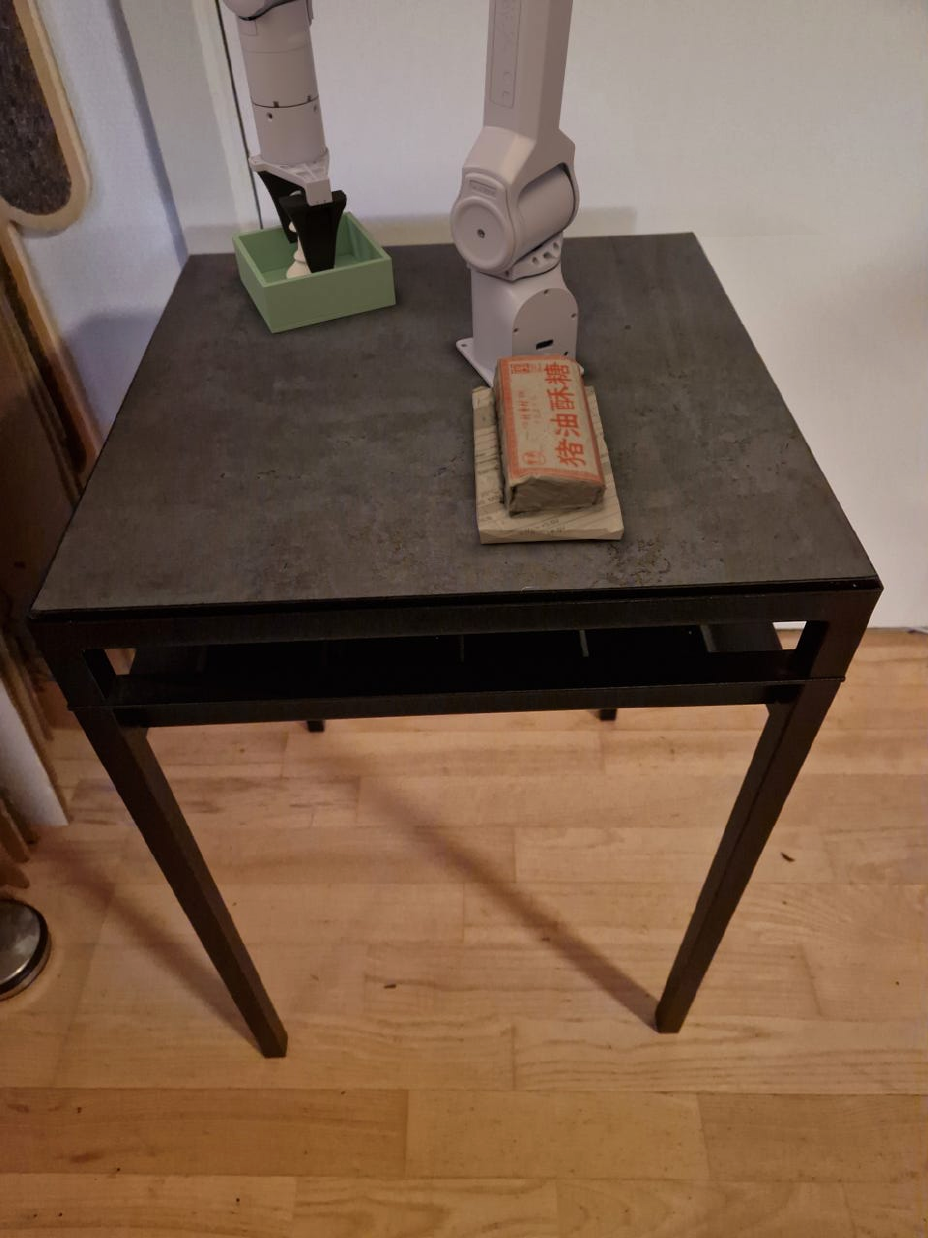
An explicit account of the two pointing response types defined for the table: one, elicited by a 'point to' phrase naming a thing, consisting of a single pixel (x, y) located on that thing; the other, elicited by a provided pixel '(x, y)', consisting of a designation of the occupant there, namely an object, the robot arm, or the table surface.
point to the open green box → (314, 277)
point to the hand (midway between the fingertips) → (310, 255)
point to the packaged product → (541, 455)
